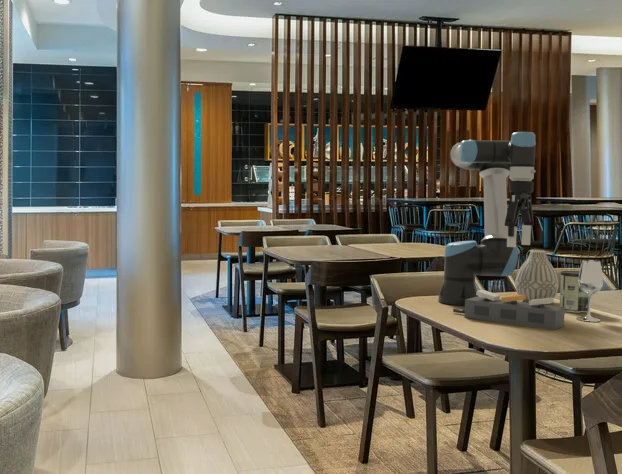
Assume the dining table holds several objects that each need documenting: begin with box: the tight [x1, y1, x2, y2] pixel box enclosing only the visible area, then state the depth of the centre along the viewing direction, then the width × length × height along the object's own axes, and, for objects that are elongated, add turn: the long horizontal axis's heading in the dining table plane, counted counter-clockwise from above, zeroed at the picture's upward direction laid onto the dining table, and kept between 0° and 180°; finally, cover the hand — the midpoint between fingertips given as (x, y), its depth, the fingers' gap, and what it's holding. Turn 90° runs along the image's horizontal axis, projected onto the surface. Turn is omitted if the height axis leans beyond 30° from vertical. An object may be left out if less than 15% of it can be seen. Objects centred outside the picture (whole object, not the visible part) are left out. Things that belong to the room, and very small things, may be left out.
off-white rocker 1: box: [476, 289, 501, 301], centre depth 226 cm, size 6×4×1 cm
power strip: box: [452, 296, 566, 331], centre depth 223 cm, size 36×9×7 cm, turn 53°
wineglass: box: [575, 259, 604, 323], centre depth 226 cm, size 8×8×20 cm
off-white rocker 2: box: [529, 298, 555, 305], centre depth 215 cm, size 6×4×1 cm
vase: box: [514, 249, 559, 303], centre depth 261 cm, size 16×16×20 cm
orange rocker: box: [501, 294, 526, 302], centre depth 221 cm, size 6×4×1 cm
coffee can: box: [559, 270, 588, 314], centre depth 244 cm, size 10×10×14 cm
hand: (518, 246), depth 220 cm, fingers open, 13 cm apart
